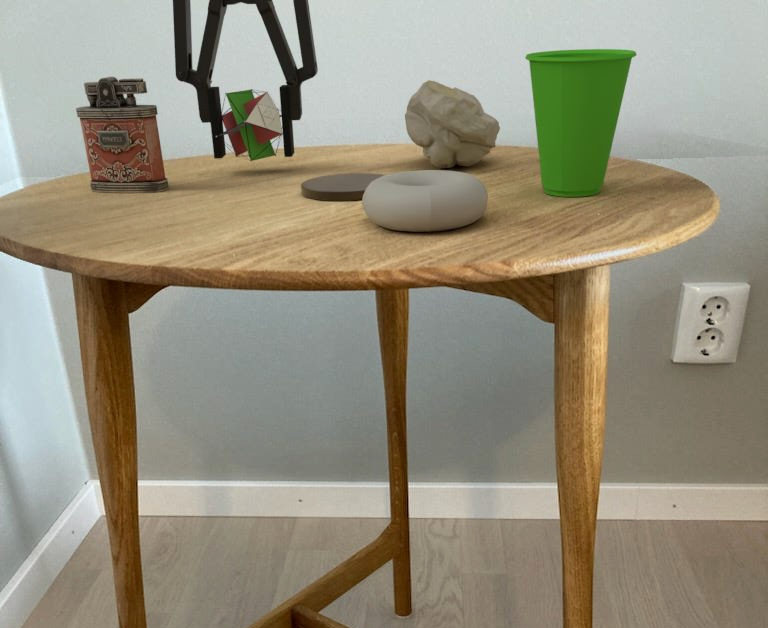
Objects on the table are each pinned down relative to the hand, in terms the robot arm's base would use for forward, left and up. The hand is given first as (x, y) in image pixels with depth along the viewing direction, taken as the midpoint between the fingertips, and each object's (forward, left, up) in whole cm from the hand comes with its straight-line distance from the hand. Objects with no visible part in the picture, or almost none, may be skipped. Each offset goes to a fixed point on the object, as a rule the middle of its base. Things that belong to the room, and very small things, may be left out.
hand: (254, 155), depth 95 cm
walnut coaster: (+10, -12, -2) cm, 16 cm away
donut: (+17, -26, -2) cm, 31 cm away
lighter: (-12, -7, -2) cm, 14 cm away
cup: (+30, -16, -2) cm, 34 cm away
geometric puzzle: (0, 0, 0) cm, 0 cm away
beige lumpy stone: (+20, 0, -2) cm, 20 cm away
